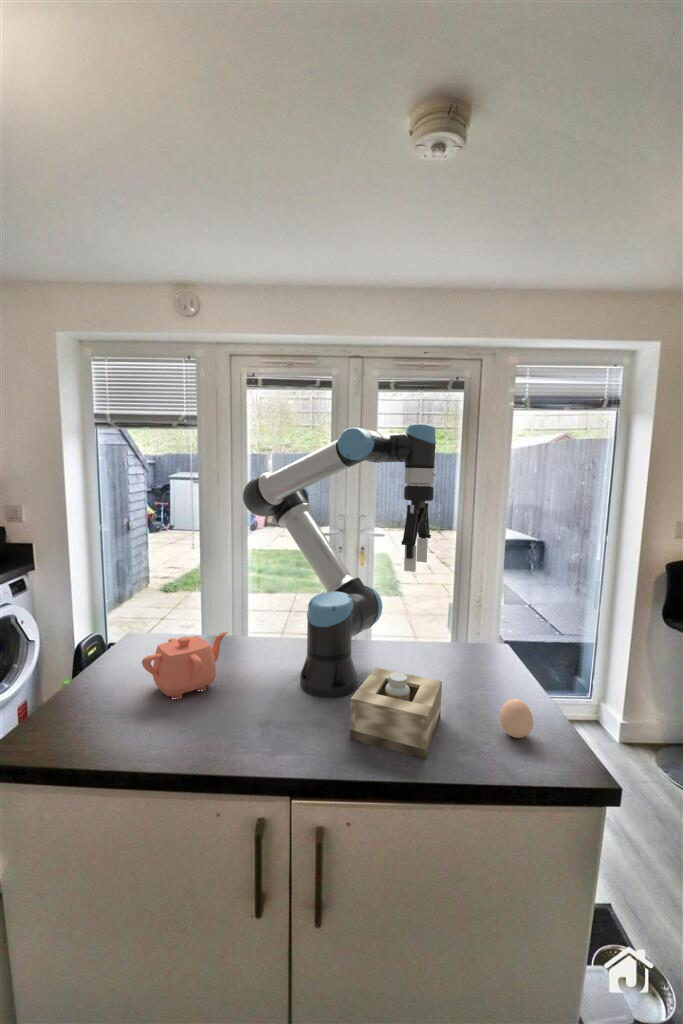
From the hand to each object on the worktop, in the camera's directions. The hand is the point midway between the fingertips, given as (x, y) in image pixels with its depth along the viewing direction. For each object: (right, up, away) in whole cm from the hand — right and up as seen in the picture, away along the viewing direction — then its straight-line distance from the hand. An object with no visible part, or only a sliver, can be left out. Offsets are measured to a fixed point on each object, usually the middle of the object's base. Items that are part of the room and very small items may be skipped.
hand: (416, 566), depth 113 cm
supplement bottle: (-8, -31, -19) cm, 37 cm away
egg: (+18, -34, -20) cm, 43 cm away
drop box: (-7, -33, -18) cm, 39 cm away
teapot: (-59, -31, -2) cm, 67 cm away
